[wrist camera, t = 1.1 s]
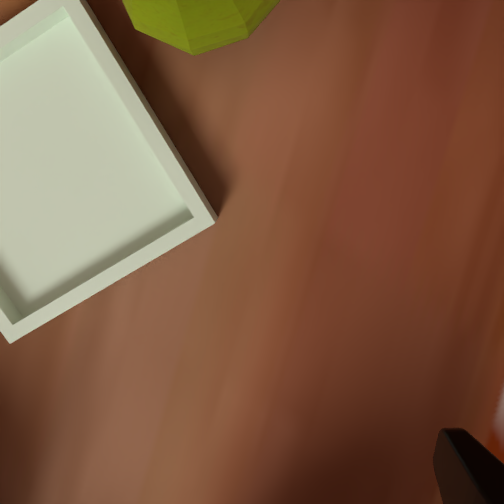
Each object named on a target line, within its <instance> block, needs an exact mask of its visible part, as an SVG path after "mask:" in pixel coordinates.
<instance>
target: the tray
mask: <svg viewBox="0 0 504 504" xmlns="http://www.w3.org/2000/svg"><path fill="white" fill-rule="evenodd" d="M217 219H218V216H217V215H216V213H215V212H214V210H213V208H212V207H211V205H210V203H209V202H208V200H207V198H206V197H205V195H204V193H203V192H202V190H201V189H200V187H199V185H198V184H197V182H196V180H195V179H194V177H193V175H192V174H191V172H190V170H189V169H188V167H187V165H186V164H185V162H184V161H183V159H182V157H181V156H180V154H179V152H178V151H177V149H176V147H175V146H174V144H173V142H172V141H171V139H170V137H169V136H168V134H167V133H166V131H165V129H164V128H163V126H162V124H161V123H160V121H159V119H158V118H157V116H156V114H155V113H154V111H153V110H152V108H151V106H150V105H149V103H148V101H147V100H146V98H145V96H144V95H143V93H142V91H141V90H140V88H139V86H138V85H137V83H136V82H135V80H134V78H133V77H132V75H131V73H130V72H129V70H128V68H127V67H126V65H125V63H124V62H123V60H122V58H121V57H120V55H119V54H118V52H117V50H116V49H115V47H114V45H113V44H112V42H111V40H110V39H109V37H108V35H107V34H106V32H105V31H104V29H103V27H102V26H101V24H100V22H99V21H98V19H97V17H96V16H95V14H94V12H93V11H92V9H91V7H90V6H89V4H88V3H87V1H86V0H38V1H37V2H35V3H34V4H32V5H31V6H29V7H28V8H26V9H25V10H24V11H22V12H21V13H19V14H18V15H16V16H15V17H13V18H12V19H10V20H9V21H8V22H6V23H5V24H3V25H2V26H0V331H1V333H2V334H3V335H4V337H5V338H6V339H7V341H8V342H9V344H10V343H12V342H14V341H15V340H17V339H19V338H21V337H22V336H24V335H26V334H27V333H29V332H31V331H32V330H34V329H36V328H38V327H39V326H41V325H43V324H44V323H46V322H48V321H49V320H51V319H53V318H55V317H56V316H58V315H60V314H61V313H63V312H65V311H66V310H68V309H70V308H72V307H73V306H75V305H77V304H78V303H80V302H82V301H83V300H85V299H87V298H89V297H90V296H92V295H94V294H95V293H97V292H99V291H100V290H102V289H104V288H106V287H107V286H109V285H111V284H112V283H114V282H116V281H117V280H119V279H121V278H123V277H124V276H126V275H128V274H129V273H131V272H133V271H134V270H136V269H138V268H140V267H141V266H143V265H145V264H146V263H148V262H150V261H151V260H153V259H155V258H157V257H158V256H160V255H162V254H163V253H165V252H167V251H168V250H170V249H172V248H174V247H175V246H177V245H179V244H180V243H182V242H184V241H185V240H187V239H189V238H191V237H192V236H194V235H196V234H197V233H199V232H201V231H202V230H204V229H206V228H208V227H209V226H211V225H213V224H214V223H215V222H216V221H217Z"/></svg>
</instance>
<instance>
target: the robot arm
mask: <svg viewBox="0 0 504 504" xmlns="http://www.w3.org/2000/svg"><path fill="white" fill-rule="evenodd" d="M433 465H434V471H435V475H436V478H437V482H438V486H439V490H440V493H441V497H442V501H443V504H504V464H503V463H502V462H501V461H500V460H499V459H498V458H496V457H495V456H494V455H493V454H492V453H491V452H490V451H489V450H488V449H486V448H485V447H484V446H483V445H482V444H481V443H480V442H479V441H477V440H476V439H475V438H474V437H473V436H472V435H471V434H470V433H468V432H467V431H466V430H464V429H462V428H443V429H441V430H440V431H439V434H438V439H437V443H436V447H435V452H434V457H433Z"/></svg>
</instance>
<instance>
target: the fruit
mask: <svg viewBox="0 0 504 504" xmlns="http://www.w3.org/2000/svg"><path fill="white" fill-rule="evenodd" d="M122 1H123V3H124V5H125V8H126V10H127V12H128V14H129V17H130V19H131V21H132V24H133V26H134V28H135V29H136V30H138V31H140V32H142V33H144V34H147V35H149V36H151V37H153V38H156V39H158V40H160V41H162V42H165V43H167V44H169V45H171V46H174V47H176V48H178V49H180V50H183V51H185V52H187V53H189V54H192V55H194V56H195V55H198V54H201V53H204V52H207V51H210V50H213V49H216V48H219V47H222V46H225V45H228V44H231V43H234V42H237V41H240V40H243V39H246V38H248V37H249V36H250V35H251V34H252V33H253V31H254V30H255V29H256V28H257V27H258V26H259V24H260V23H261V22H262V21H263V20H264V19H265V18H266V16H267V15H268V14H269V13H270V12H271V11H272V9H273V8H274V7H275V6H276V5H277V4H278V3H279V1H280V0H122Z"/></svg>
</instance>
